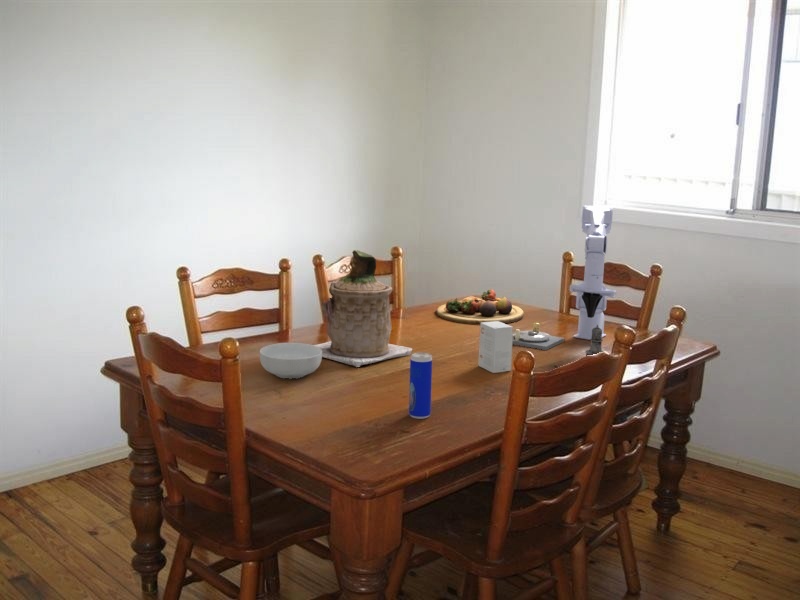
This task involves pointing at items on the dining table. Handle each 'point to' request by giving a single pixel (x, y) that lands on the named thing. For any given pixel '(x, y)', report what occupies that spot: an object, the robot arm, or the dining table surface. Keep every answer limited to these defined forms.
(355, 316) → the cookie jar
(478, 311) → the wooden plate with food
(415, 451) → the dining table surface
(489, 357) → the small box
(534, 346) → the jig board
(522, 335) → the flange plate
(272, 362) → the cereal bowl
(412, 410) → the beverage can
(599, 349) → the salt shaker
